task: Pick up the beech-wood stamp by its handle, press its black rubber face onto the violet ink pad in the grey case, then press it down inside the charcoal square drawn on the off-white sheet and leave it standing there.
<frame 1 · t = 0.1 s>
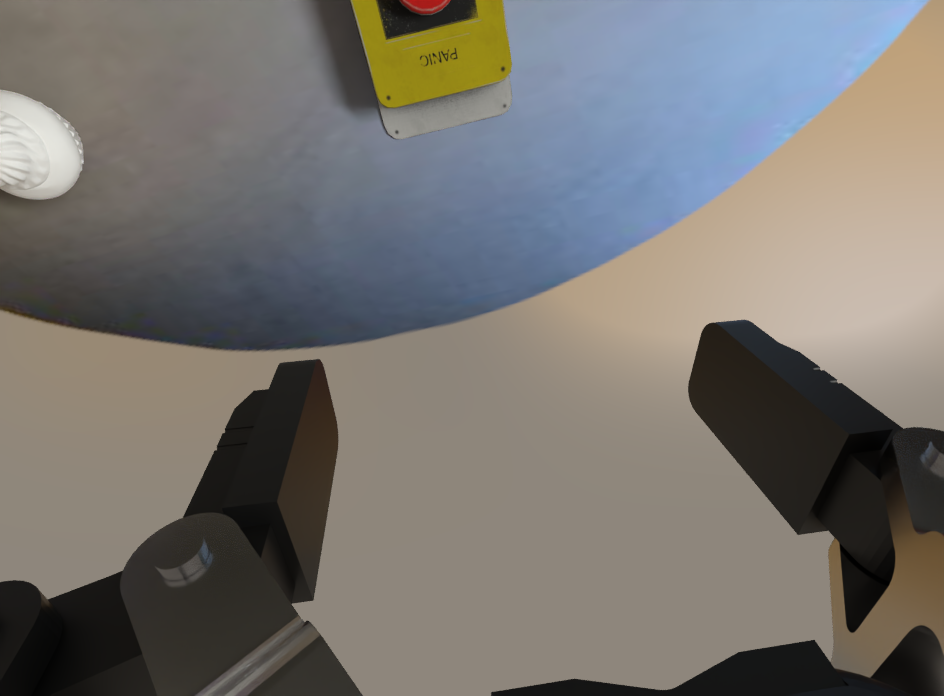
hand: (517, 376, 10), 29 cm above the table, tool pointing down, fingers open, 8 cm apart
emergency button: (424, 2, 31), on the table
white rounded piece: (57, 138, 32), on the table
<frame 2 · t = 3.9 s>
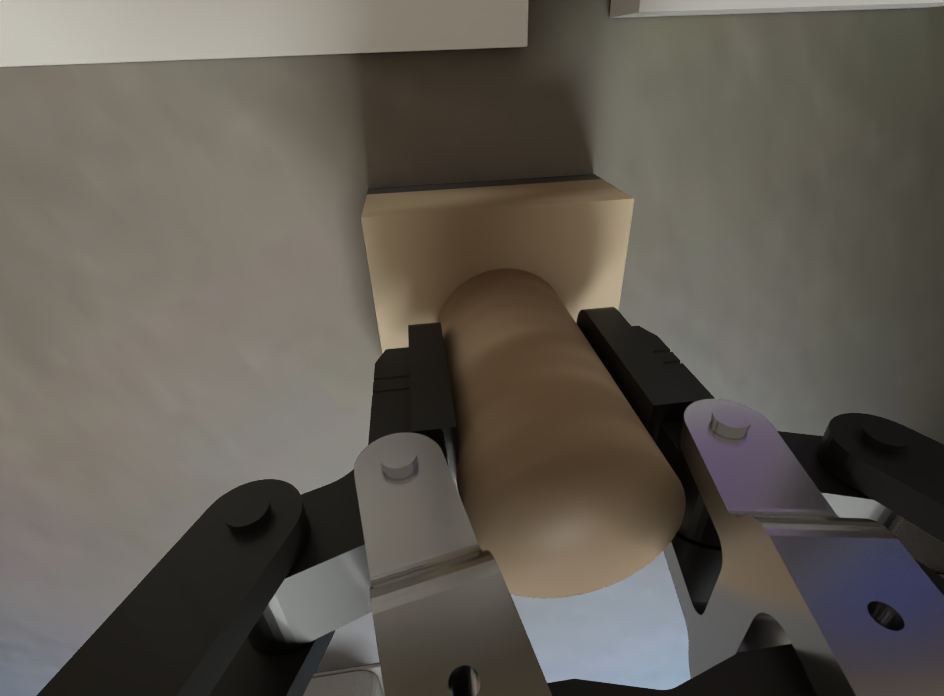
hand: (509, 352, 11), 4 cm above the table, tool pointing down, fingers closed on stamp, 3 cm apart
stamp: (485, 286, 14), on the table, touching gripper
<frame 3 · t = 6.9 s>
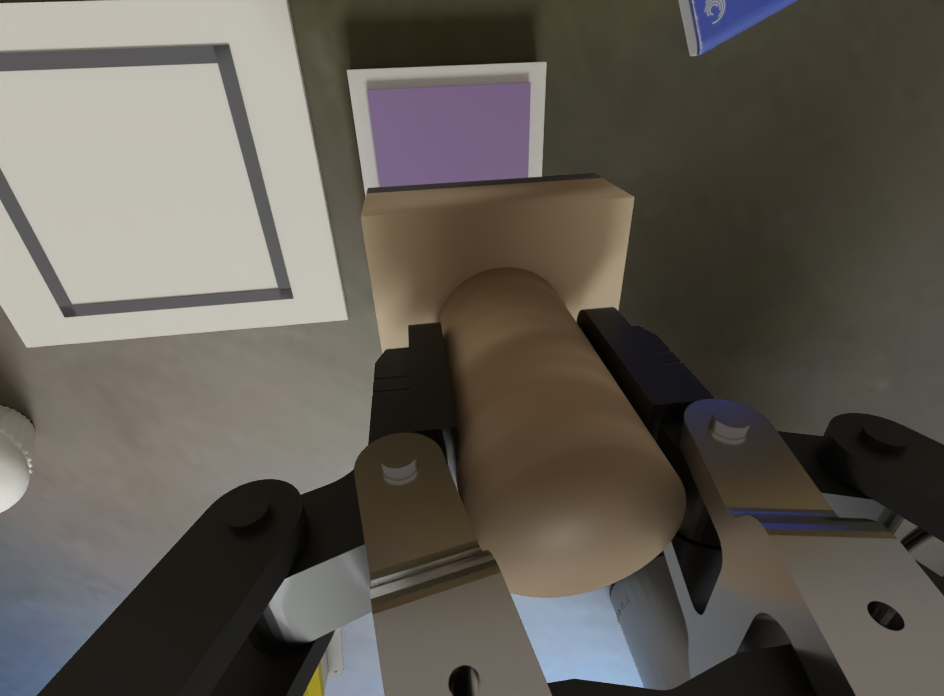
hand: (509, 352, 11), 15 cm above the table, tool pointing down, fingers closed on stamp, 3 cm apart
stamp: (485, 285, 14), point 11 cm above the table, touching gripper
ink pad: (452, 196, 23), on the table
cable: (919, 549, 48), on the table
emergency button: (255, 645, 42), on the table
sheet: (142, 194, 21), on the table
white rounded piece: (4, 423, 27), on the table
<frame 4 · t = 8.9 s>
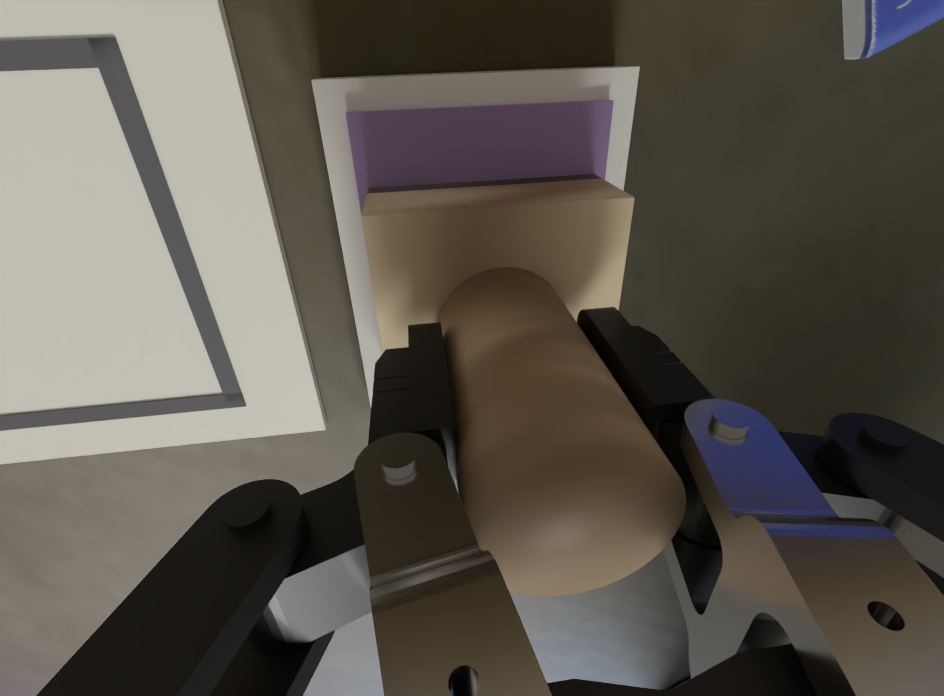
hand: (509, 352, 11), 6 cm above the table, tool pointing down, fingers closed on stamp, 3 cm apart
stamp: (485, 285, 14), point 2 cm above the table, touching gripper, ink pad
ink pad: (477, 264, 16), on the table
sheet: (3, 268, 14), on the table
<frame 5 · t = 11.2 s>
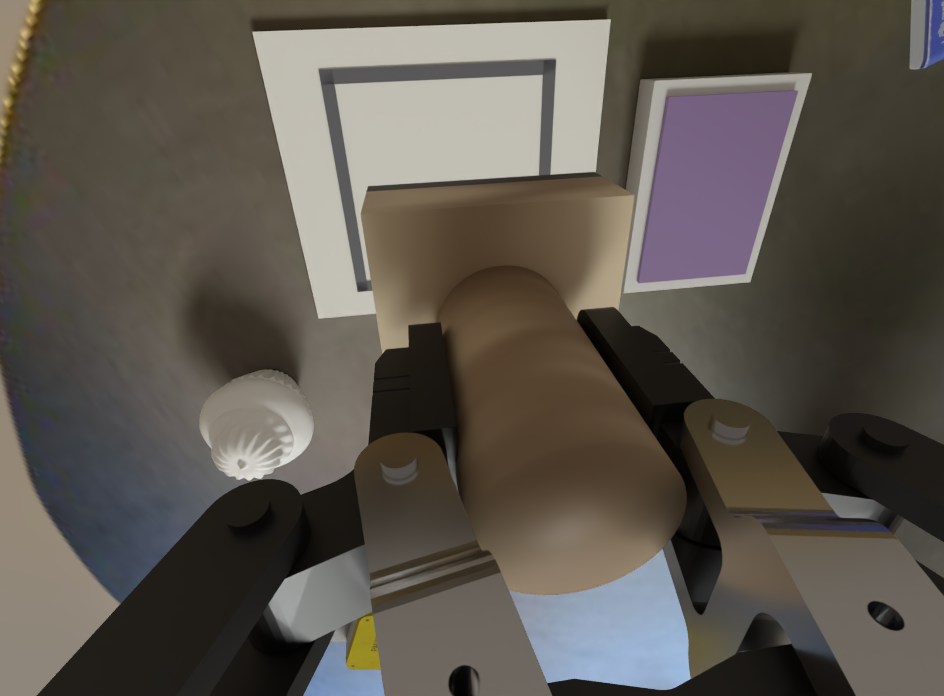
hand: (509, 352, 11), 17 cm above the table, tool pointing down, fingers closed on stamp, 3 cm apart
stamp: (485, 284, 14), point 13 cm above the table, touching gripper
ink pad: (693, 187, 27), on the table
emergency button: (410, 609, 46), on the table
sheet: (446, 185, 25), on the table
white rounded piece: (272, 387, 31), on the table
when the fingers open (4 cm above the table, at t = 13.8 s): stamp stays where it is, resting on sheet.
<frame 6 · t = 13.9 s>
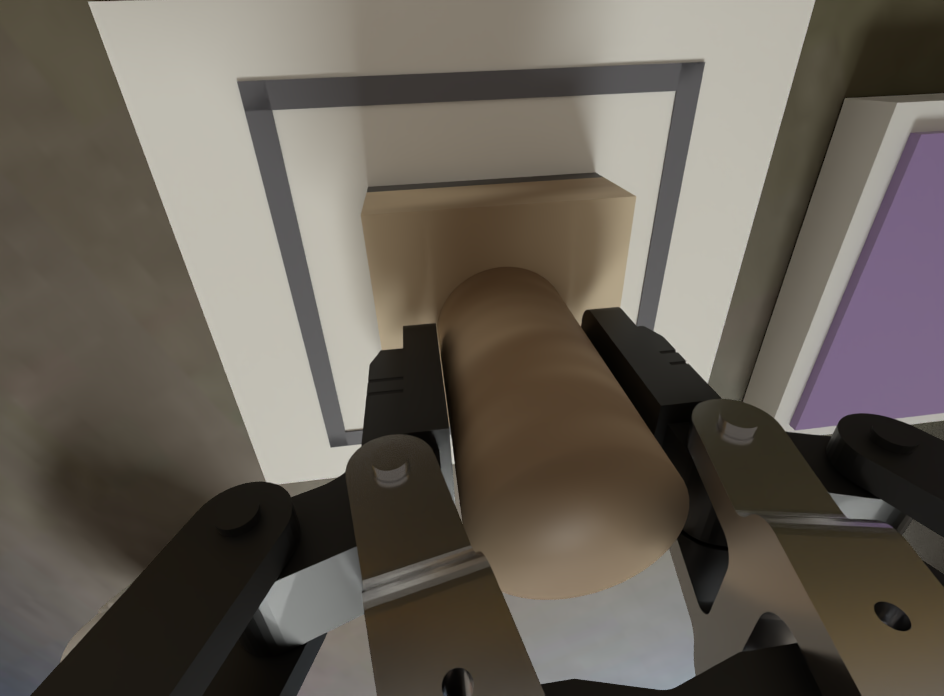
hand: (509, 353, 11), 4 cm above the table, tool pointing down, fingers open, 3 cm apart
stamp: (486, 285, 14), resting on sheet
ink pad: (892, 275, 16), on the table
sheet: (483, 281, 14), on the table
white rounded piece: (203, 569, 20), on the table
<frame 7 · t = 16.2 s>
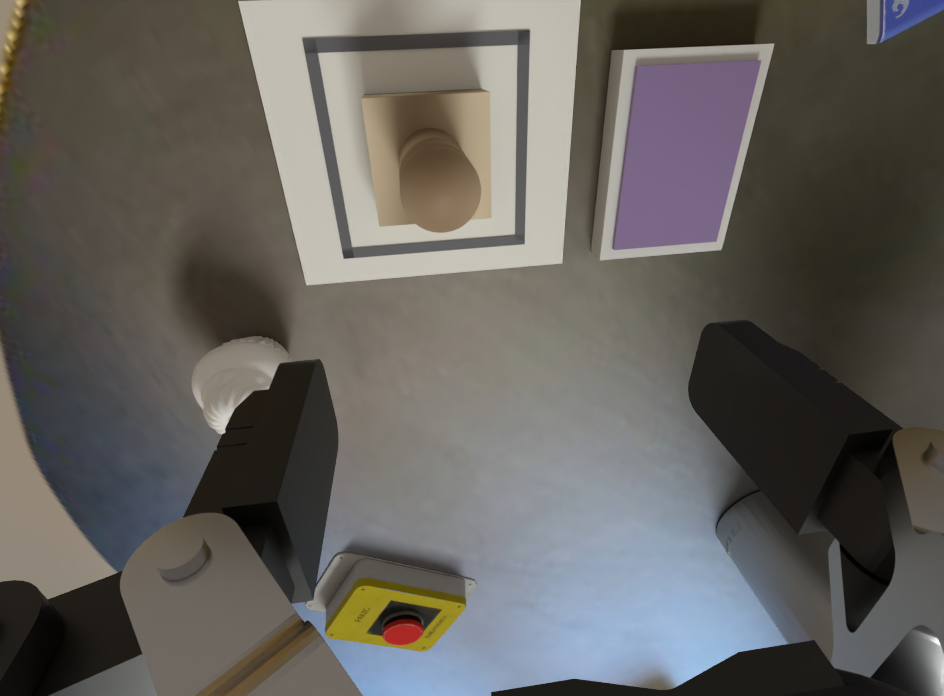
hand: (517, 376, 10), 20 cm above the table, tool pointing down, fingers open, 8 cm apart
stamp: (428, 153, 26), resting on sheet
ink pad: (665, 157, 28), on the table
emergency button: (393, 586, 48), on the table
sheet: (427, 153, 26), on the table
white rounded piece: (263, 355, 32), on the table
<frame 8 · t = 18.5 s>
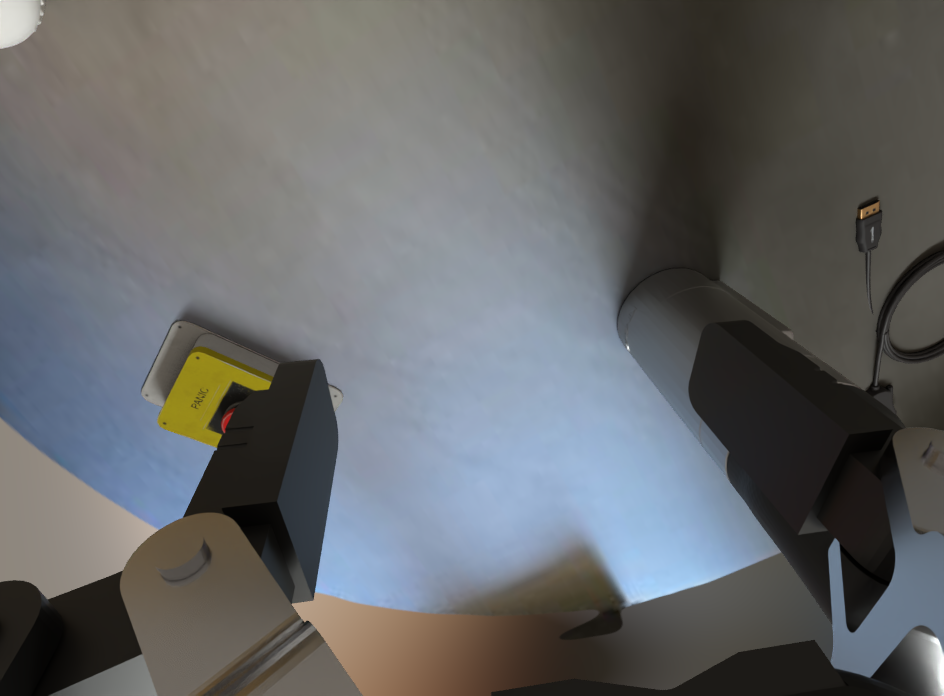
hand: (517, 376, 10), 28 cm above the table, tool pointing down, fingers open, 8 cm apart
cable: (916, 303, 48), on the table
emergency button: (248, 390, 43), on the table
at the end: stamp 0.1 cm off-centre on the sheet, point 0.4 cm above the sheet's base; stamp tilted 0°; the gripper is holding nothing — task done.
